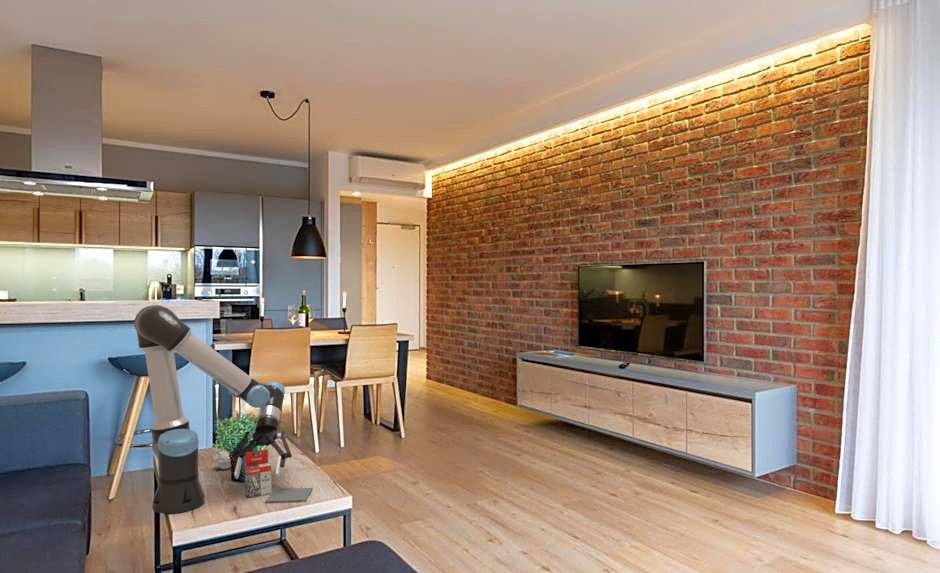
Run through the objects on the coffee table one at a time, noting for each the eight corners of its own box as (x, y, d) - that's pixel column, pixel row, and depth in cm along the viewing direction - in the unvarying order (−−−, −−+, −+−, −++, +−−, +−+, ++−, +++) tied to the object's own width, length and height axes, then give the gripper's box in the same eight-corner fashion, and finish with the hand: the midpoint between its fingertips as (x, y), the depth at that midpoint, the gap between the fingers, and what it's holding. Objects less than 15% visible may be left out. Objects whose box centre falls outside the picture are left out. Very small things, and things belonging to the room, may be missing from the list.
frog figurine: (220, 466, 237) (219, 448, 237) (237, 466, 236) (236, 449, 236) (211, 471, 231) (211, 453, 231) (229, 471, 230) (229, 453, 230)
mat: (265, 503, 197) (265, 501, 197) (274, 490, 209) (274, 488, 209) (305, 501, 198) (305, 500, 198) (312, 489, 210) (312, 487, 210)
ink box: (271, 493, 206) (271, 451, 206) (247, 498, 201) (247, 454, 201) (268, 490, 209) (268, 448, 209) (244, 495, 204) (244, 452, 204)
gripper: (304, 426, 222) (296, 480, 207) (235, 427, 220) (221, 482, 205) (301, 414, 216) (292, 469, 201) (230, 416, 214) (216, 471, 200)
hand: (256, 476), depth 203 cm, fingers open, 13 cm apart
